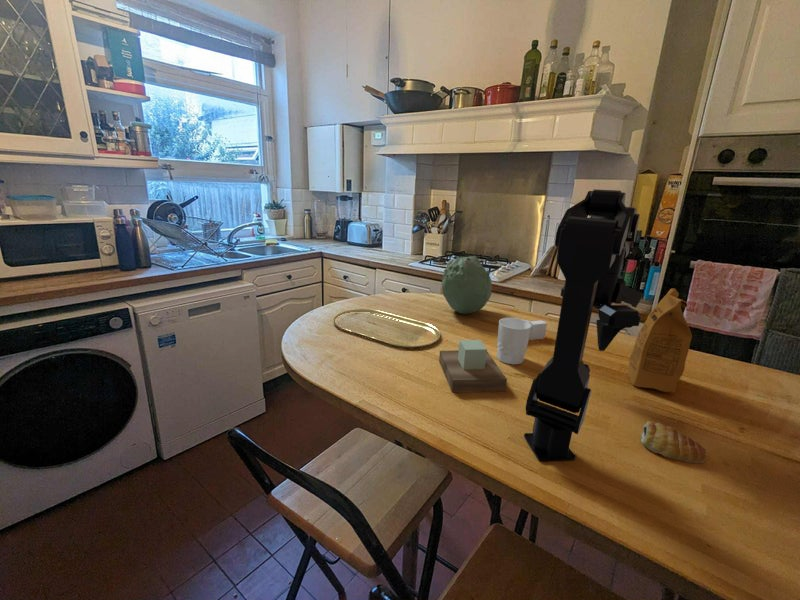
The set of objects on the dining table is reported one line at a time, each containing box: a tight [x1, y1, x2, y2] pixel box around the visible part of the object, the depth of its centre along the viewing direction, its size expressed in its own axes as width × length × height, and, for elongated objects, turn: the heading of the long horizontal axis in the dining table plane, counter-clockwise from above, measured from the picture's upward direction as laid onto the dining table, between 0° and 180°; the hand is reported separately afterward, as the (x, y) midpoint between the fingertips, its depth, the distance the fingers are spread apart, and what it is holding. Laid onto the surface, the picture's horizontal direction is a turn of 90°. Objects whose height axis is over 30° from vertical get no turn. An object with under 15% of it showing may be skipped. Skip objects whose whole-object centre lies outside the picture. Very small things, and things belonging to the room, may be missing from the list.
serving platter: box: [333, 308, 441, 350], centre depth 112 cm, size 19×35×2 cm, turn 58°
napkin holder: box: [524, 319, 548, 341], centre depth 108 cm, size 15×11×6 cm
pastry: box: [640, 420, 707, 464], centre depth 65 cm, size 9×7×4 cm
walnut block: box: [438, 349, 508, 393], centre depth 87 cm, size 14×12×3 cm
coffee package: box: [627, 288, 693, 394], centre depth 85 cm, size 10×12×22 cm
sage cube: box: [458, 339, 488, 370], centre depth 86 cm, size 5×5×5 cm
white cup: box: [496, 317, 532, 365], centre depth 95 cm, size 8×8×10 cm
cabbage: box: [441, 255, 492, 315], centre depth 125 cm, size 16×19×20 cm
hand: (588, 340), depth 80 cm, fingers open, 9 cm apart
